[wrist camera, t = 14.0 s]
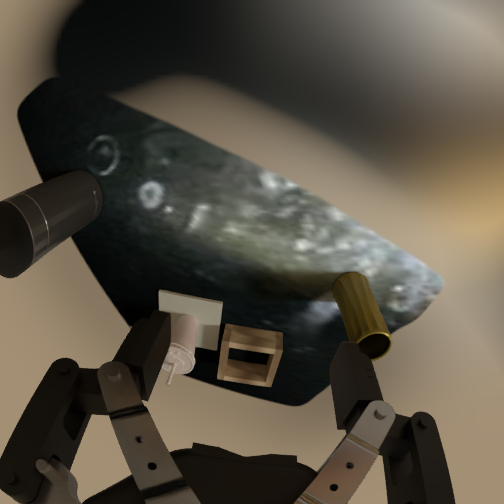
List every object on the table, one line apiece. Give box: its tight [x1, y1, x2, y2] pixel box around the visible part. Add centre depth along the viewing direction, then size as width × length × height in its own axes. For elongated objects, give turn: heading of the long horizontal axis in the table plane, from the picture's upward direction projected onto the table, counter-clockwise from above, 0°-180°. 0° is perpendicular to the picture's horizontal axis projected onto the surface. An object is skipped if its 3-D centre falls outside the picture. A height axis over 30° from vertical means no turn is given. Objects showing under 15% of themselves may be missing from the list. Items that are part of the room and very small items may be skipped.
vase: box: [333, 272, 392, 361], centre depth 40 cm, size 6×6×14 cm
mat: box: [159, 290, 223, 351], centre depth 51 cm, size 11×11×1 cm
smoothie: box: [161, 314, 199, 386], centre depth 44 cm, size 6×6×14 cm
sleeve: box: [217, 324, 283, 387], centre depth 51 cm, size 10×10×4 cm
